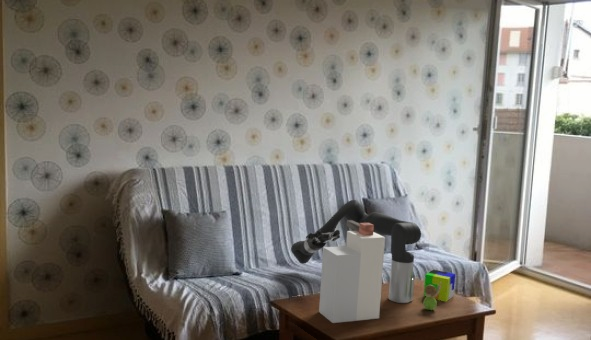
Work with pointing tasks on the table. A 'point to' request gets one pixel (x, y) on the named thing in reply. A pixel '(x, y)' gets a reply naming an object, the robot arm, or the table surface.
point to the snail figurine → (431, 296)
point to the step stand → (352, 278)
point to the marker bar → (361, 227)
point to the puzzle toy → (446, 284)
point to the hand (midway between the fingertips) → (329, 232)
